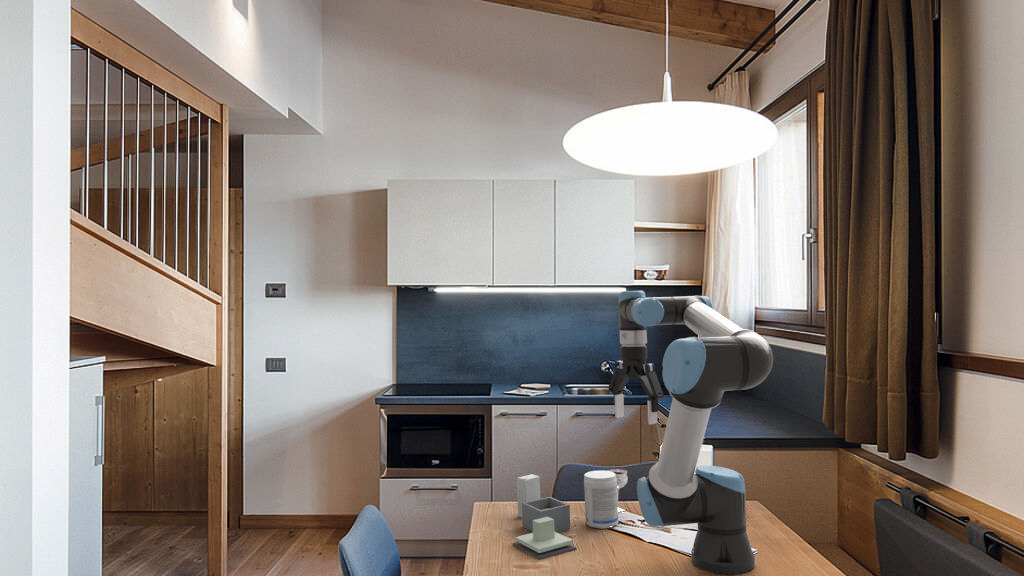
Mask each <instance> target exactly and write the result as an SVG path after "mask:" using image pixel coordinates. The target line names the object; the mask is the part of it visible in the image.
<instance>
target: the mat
mask: <svg viewBox="0 0 1024 576" xmlns="http://www.w3.org/2000/svg"><path fill="white" fill-rule="evenodd" d="M512 546H514V547H516V548H517V549H520V550H521V551H523V552H525V553H527V554H528V555H530V556H531V557H534V558H535V559H537V560H543V559H547V558H550V557H553V556H557V555H561V554H564V553H568V552H573V551H575V550H577V547H576V546H574V545H572V544H569V545H566V546H564V547H560V548H557V549H553V550H550V551H546V552H543V553H538V552H536V551H534V550H532V549H530V548H528V547H527V546H525V545H523V544H521V543H519V542H517V541H515V542H512Z"/></svg>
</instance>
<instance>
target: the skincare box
mask: <svg viewBox="0 0 1024 576" xmlns="http://www.w3.org/2000/svg"><path fill="white" fill-rule="evenodd" d="M540 482H541V477H540V476H539V475H536V474H532V473H531V474H527V475H523V476H519V477H516V486H517V487H516V489H517V490H516V491H517V516H518V517H520V518H522V503H524V502H528V501H533V500H537V499H541V483H540Z"/></svg>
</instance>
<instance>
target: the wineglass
mask: <svg viewBox="0 0 1024 576" xmlns="http://www.w3.org/2000/svg"><path fill="white" fill-rule="evenodd" d="M606 471H610V472H613V473H615V474H616V481H617V500H618V501H619V490H620V489H621V488H623V487H625V486H626V484H627V483H628V479H629V478H628V475H627V474H628V470H626V469H621V468H620V469H619V468H613V469H612V468H611V469H608V470H606ZM620 511H625V512H626V509H624V508H622V507H618V512H620Z"/></svg>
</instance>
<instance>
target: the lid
mask: <svg viewBox="0 0 1024 576" xmlns="http://www.w3.org/2000/svg"><path fill="white" fill-rule="evenodd" d="M515 542H519V543H521V544H523V545H525V546H527V547H528V548H530V549H532V550H534V551H536V552H538V553H543V552H546V551H550V550H553V549H557V548H560V547H564V546H566V545H569V544H570V545H572V544H573V539H571V538H569V537H567V536H565V535H563V534H560V532H555V531H554V519H552V518H550V517H544V518H540V519H536V520H533V532H530V533H526V534H522V535H519V536H515Z"/></svg>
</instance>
